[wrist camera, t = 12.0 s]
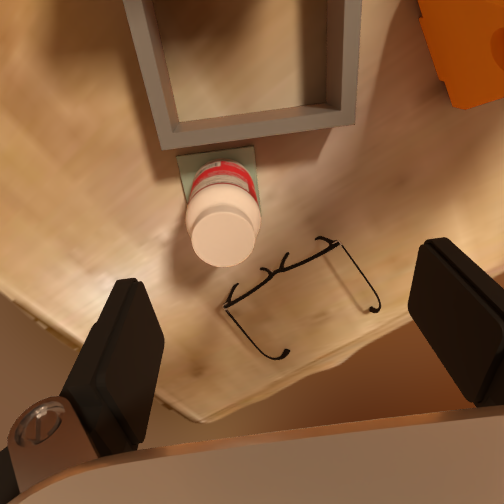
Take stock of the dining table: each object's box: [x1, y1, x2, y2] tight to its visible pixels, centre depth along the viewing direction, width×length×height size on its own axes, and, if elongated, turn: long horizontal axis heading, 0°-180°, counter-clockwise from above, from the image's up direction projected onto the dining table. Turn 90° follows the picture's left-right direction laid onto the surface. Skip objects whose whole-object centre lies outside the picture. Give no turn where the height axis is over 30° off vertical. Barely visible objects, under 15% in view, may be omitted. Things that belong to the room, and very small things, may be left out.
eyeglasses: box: [222, 236, 381, 360], centre depth 41 cm, size 16×16×4 cm
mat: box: [176, 146, 261, 214], centre depth 33 cm, size 8×8×1 cm
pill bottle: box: [185, 158, 261, 267], centre depth 28 cm, size 6×6×11 cm
